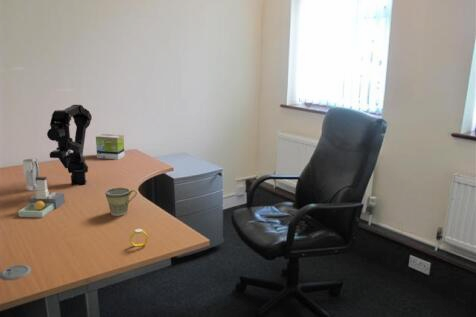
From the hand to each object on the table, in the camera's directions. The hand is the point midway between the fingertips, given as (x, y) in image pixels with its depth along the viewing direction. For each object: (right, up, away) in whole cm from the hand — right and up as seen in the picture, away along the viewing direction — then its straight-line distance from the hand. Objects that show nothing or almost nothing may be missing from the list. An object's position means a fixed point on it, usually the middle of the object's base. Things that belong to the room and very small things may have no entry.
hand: (66, 168), depth 206 cm
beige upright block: (-2, -13, -21) cm, 24 cm away
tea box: (0, +5, +71) cm, 71 cm away
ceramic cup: (+34, -19, -24) cm, 46 cm away
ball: (-2, -16, -23) cm, 28 cm away
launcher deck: (-2, -17, -17) cm, 24 cm away
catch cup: (-2, -19, -25) cm, 31 cm away
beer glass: (-19, -11, +6) cm, 23 cm away
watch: (+48, -27, -55) cm, 78 cm away
